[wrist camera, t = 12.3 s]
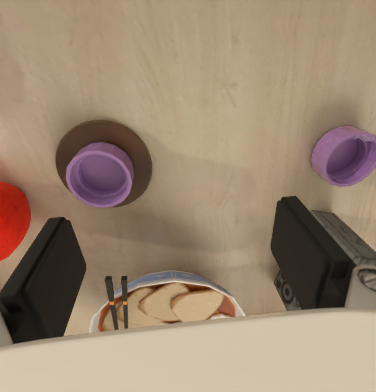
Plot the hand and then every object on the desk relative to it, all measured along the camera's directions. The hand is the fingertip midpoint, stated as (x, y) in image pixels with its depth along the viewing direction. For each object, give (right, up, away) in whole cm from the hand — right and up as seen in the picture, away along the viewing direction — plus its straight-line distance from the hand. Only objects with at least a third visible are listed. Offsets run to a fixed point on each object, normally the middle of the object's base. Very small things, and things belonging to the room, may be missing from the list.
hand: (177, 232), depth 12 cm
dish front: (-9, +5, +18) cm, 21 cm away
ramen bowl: (-3, -15, +31) cm, 35 cm away
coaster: (-9, +5, +19) cm, 22 cm away
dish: (+19, +7, +21) cm, 29 cm away
